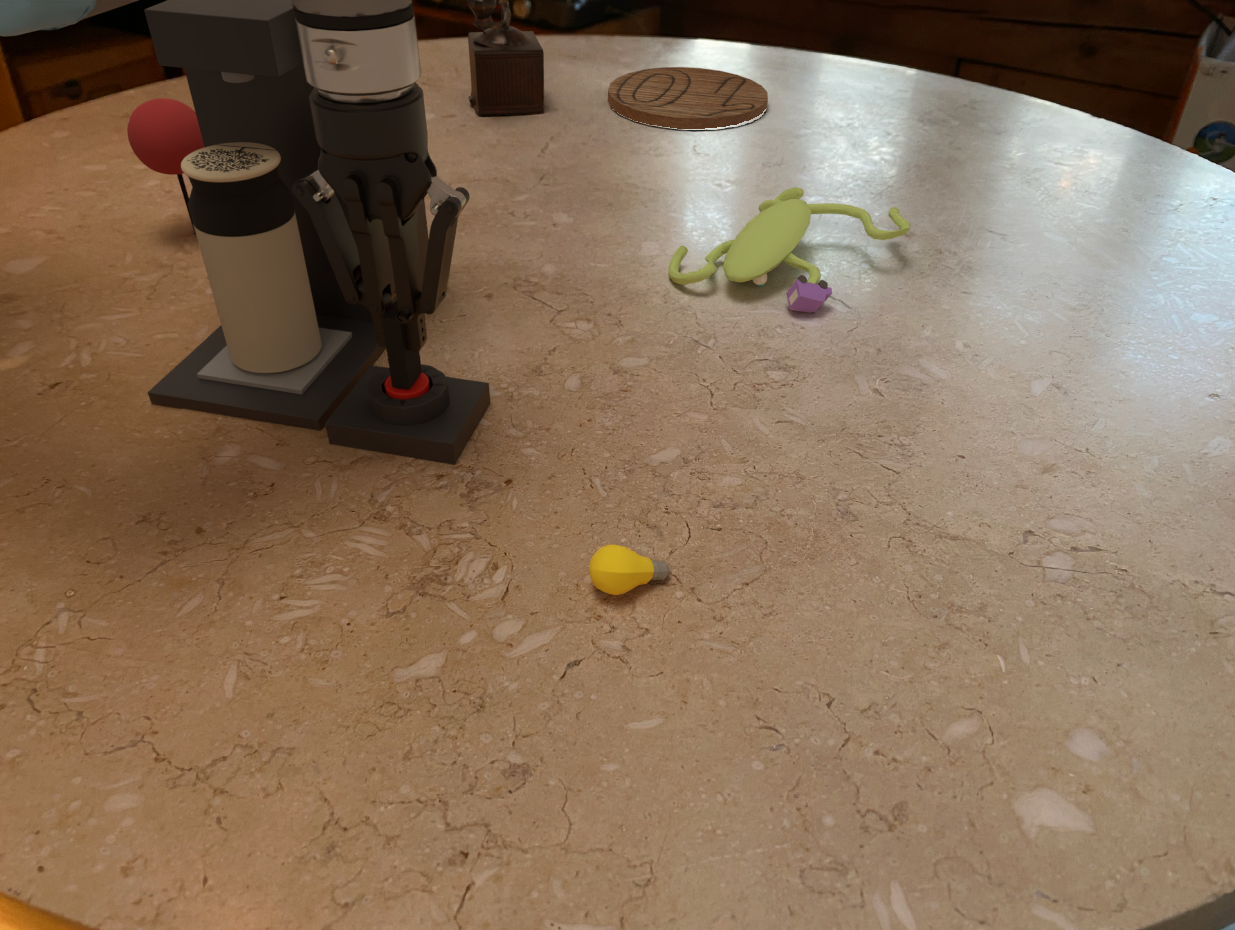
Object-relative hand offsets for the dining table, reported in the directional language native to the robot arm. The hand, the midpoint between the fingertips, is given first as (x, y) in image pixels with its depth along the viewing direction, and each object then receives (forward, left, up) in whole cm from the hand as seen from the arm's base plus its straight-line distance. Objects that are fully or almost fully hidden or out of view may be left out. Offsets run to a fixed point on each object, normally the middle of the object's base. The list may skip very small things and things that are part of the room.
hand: (407, 379), depth 78 cm
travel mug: (-15, +5, -3) cm, 16 cm away
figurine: (+29, +39, -5) cm, 49 cm away
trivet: (+9, +90, -5) cm, 91 cm away
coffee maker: (-15, +10, -5) cm, 19 cm away
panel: (0, 0, -5) cm, 5 cm away
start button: (0, 0, -2) cm, 2 cm away
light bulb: (+22, -14, -5) cm, 27 cm away
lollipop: (-38, +28, -5) cm, 48 cm away
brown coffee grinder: (-17, +79, -5) cm, 81 cm away
